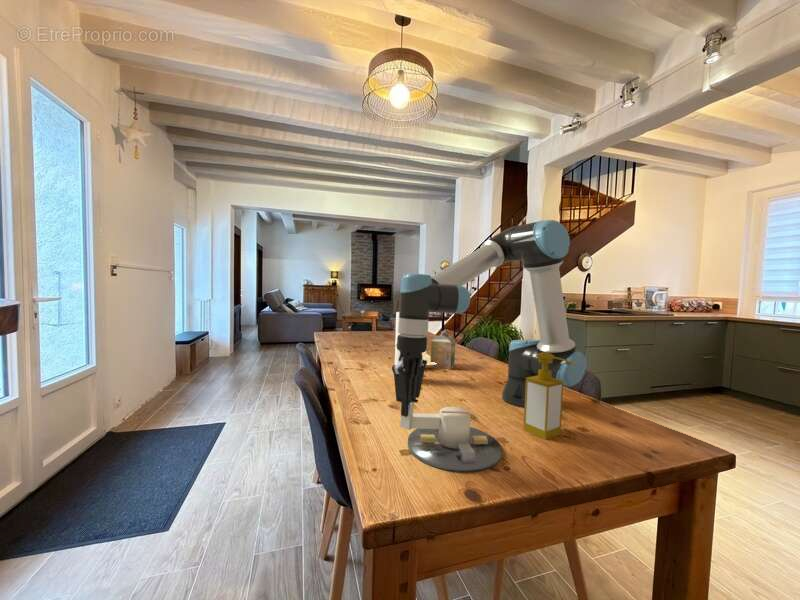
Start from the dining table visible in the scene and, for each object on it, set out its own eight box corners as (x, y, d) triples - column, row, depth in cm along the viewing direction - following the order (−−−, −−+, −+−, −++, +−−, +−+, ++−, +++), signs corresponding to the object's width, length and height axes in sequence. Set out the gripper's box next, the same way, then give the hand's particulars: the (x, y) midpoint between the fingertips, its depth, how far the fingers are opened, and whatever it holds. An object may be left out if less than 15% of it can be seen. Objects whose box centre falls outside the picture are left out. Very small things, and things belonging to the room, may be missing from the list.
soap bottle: (564, 448, 86) (568, 360, 85) (523, 429, 97) (527, 351, 96) (579, 442, 90) (584, 357, 89) (538, 425, 101) (542, 349, 100)
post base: (478, 425, 99) (478, 413, 99) (520, 468, 76) (521, 453, 76) (400, 428, 95) (400, 415, 95) (419, 475, 72) (419, 459, 72)
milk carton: (450, 370, 165) (451, 332, 165) (430, 367, 169) (431, 331, 168) (454, 365, 175) (455, 330, 174) (435, 363, 179) (436, 328, 178)
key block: (482, 435, 90) (483, 406, 89) (490, 449, 82) (492, 418, 81) (403, 432, 89) (404, 404, 89) (404, 447, 81) (405, 416, 81)
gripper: (413, 331, 90) (407, 416, 90) (385, 335, 79) (378, 430, 80) (437, 335, 85) (431, 424, 86) (411, 339, 75) (403, 440, 76)
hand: (406, 427), depth 83 cm, fingers closed
